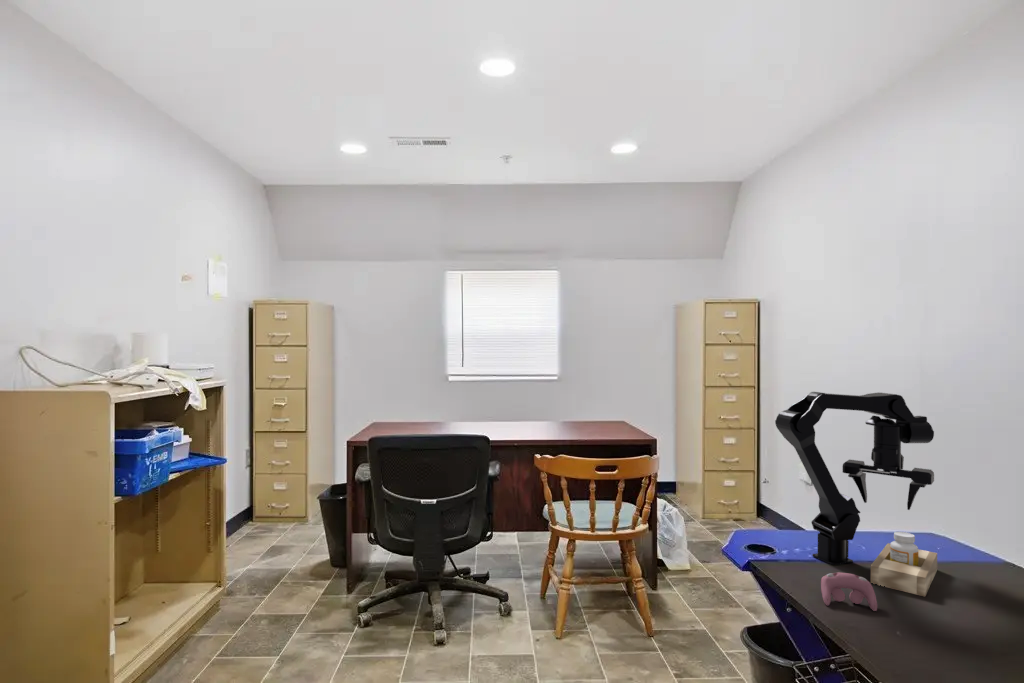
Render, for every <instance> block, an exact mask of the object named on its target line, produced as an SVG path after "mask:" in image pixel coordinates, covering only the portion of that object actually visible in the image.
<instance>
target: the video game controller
mask: <svg viewBox="0 0 1024 683" xmlns="http://www.w3.org/2000/svg"><path fill="white" fill-rule="evenodd" d="M842 589H849V590H852V591H850V593H849V597H848V598H849V601H850V602H851V603H853V604H854V603H855V605H859V604H862V602H863V599H864V598H865V600H866V601H867V603H868V606H869V608H870V609H872V610H873V611H876V612H877V611H878V602H877V596H876V592H875V589H874V587H873V585H872V584H871V581H869V580H868V579H866V578H865V577H863V576H859V575H858V574H857V575H856V574H854V573H847V572H838V571H837V572H833V573H831V572H830V573H826V575H824V576H822V577H821V580H820V592H821V596H822V601H823V602H824V605H826V606H830V605H831V600H832V598H833V600H834V601H836V602H838V603H839V602H840V603H841V602H843V601H844V600H845V599H846V595H845V594H846V593H845V592H844V590H842ZM872 610H871V611H872ZM873 611H872V612H873Z"/></svg>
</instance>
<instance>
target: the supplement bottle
mask: <svg viewBox="0 0 1024 683" xmlns="http://www.w3.org/2000/svg"><path fill="white" fill-rule="evenodd" d="M893 539H894V540H893V541H891V542H890V561H895V562H899V563H904V564H908V565H913V566H918V549H919V547H918V546H917V544H916V543H915V542H916V536H915V535H914V534H913V533H910V532H906V531H905V532H904V531H894V533H893Z"/></svg>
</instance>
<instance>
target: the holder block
mask: <svg viewBox="0 0 1024 683" xmlns="http://www.w3.org/2000/svg"><path fill="white" fill-rule="evenodd" d="M890 544H891V542H890V543H889V542H887V544H886V545H885V546H884V548H883V549H882V550H881V551H880V553H879V554H878V555H877V557H876V558H875V559H874V561H873V562H872V563H871V564H870V583H873V585H875V584H877V585H876V586H880V585H881V586H880V587H884V586H885V587H884V588H888V589H893V590H897V591H901V592H905V593H909V594H912V595H917V596H921V597H926V596H927V594H928V591H929V589H930V586H931V585H932V583H933V580H934V578H935V576H936V574H937V571H938V552H934V551H928V550H925V549H924V550H923V549H919V548H918V566H913V565H908V564H904V563H899V562H895V561H890Z"/></svg>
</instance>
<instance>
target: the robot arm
mask: <svg viewBox="0 0 1024 683" xmlns="http://www.w3.org/2000/svg"><path fill="white" fill-rule="evenodd" d="M827 409H829V410H831V409H832V410H845V411H859V412H860V411H861V412H862V411H863V412H865V413H869V414H873V415H872V416H871V417H870V418H869V419H867V420H865V424H866V425H869V426H873V448H872V450H871V456H870V457H871V458H870V459H871V461H872V462H873V465H871V464H870V465H868V464H865V463H866V462H865V461H864V460H856V459H848V460H846V461H845V462H843V464H842V473H843V474H846V475H847V474H848V476H847V477H849V478H852V480H853V481H854V484H855V485H856V487H857V488H858V491H859V494H860V495H861V496H860V497H861V499H862V501H863V503H864V504H866V503H867V502H868V493H867V490H868V489H867V482H866V475H867V473H868V474H874V475H875V474H876V475H877V474H878V475H883V476H890V477H891V476H892V477H899V478H905V479H911V482H910V483H909V485H908V486H909V487H908V494H907V502H906V505H907V506H906V507H907V509H906V510H908V511H910V510H911V508H912V505H913V503H914V501H915V498H916V496H917V493H918V492H919V490H920V488H925V487H927V486H928V485H929V486H932V484H933V483H934V482H935V473H934V471H933V469H930V468H921V467H920V468H919V467H913V469H912V470H907V469H904V456H903V454H902V443H903V444H928V443H931V442H932V440H934V436H935V431H934V429H933V427H932V424H931V423H930V422H928V417H927V416H925V415H923V416H922V415H914V414H913V412H911V410H910V409H909V407H908V406H907V403H906V401H905V399H904V397H903V395H900V394H895V393H886V392H873V393H871V392H870V393H866V394H862V395H855V394H854V395H853V394H839V393H826V392H821V391H820V392H819V391H811V392H809V393H807V394H806V395H805V396H803V398H801V399H800V400H798V401H796V402H795V403H793V404H791V405H789V407H788V408H786V409H785V410H782V411H781V412H779V413H778V414H777V416H776V419H775V420H774V423H775V427H776V429H777V430H778V432H780V434H781V436H783V438H784V439H785V440H786V441H788V443H789V444H790V445H791V446H792V447H794V450H795V452H796V453H797V455H798V457H799V459H800V462H801V464H802V465H803V467H804V469H805V471H806V473H807V475H808V477H809V479H810V481H811V484H812V485H813V487H814V489H815V492H816V494H817V495H818V498H819V499H818V509H819V513H817V515H816V516H815V517H814V519H813V520H811V525H812V528H813V530H814V531H817V532H818V533H817V553H812V557H814V558H815V559H818V560H821V561H823V562H825V563H827V564H830V565H833V566H837V565H838V566H839V565H844V564H851V563H853V562H854V559H851V558H849V541H853V540H854V538H855V534H856V531H857V528H858V526H859V525H860V522H861V518H860V514H861V511H860V510H859V509H858V507H857V505H856V502H855V500H854V498H853V497H850V496H847V495H845V494H842V493H841V492H840V491H839V488H838V487H837V485H836V482H835V481H834V478H833V477H832V474H831V473H830V470H829V468H828V467H827V465H826V463H825V460H824V459H823V457H822V454H821V453H820V451H819V449H818V446H817V445H816V442H815V441H816V430H815V427H814V426H816V424H817V423H819V422H820V420H821V418H822V416H823V414H824V411H826V410H827ZM880 416H882V417H884V418H881V417H880ZM894 420H895V421H894Z"/></svg>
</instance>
